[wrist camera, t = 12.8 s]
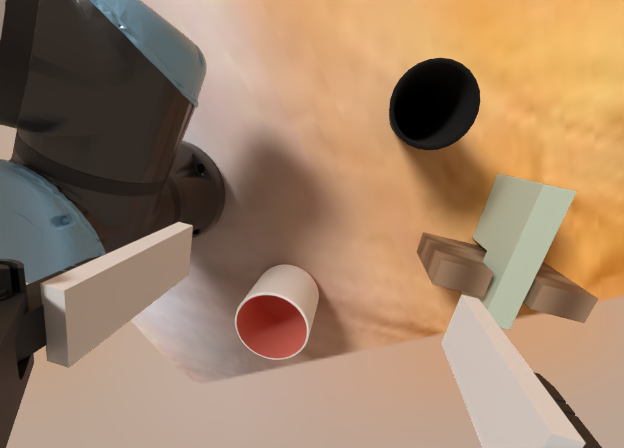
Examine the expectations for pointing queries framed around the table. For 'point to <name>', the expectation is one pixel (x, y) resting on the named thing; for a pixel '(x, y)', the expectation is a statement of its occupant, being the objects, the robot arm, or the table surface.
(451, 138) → the cup
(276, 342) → the cup
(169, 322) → the table surface
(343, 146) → the table surface
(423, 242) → the walnut stand
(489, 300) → the sage plate
